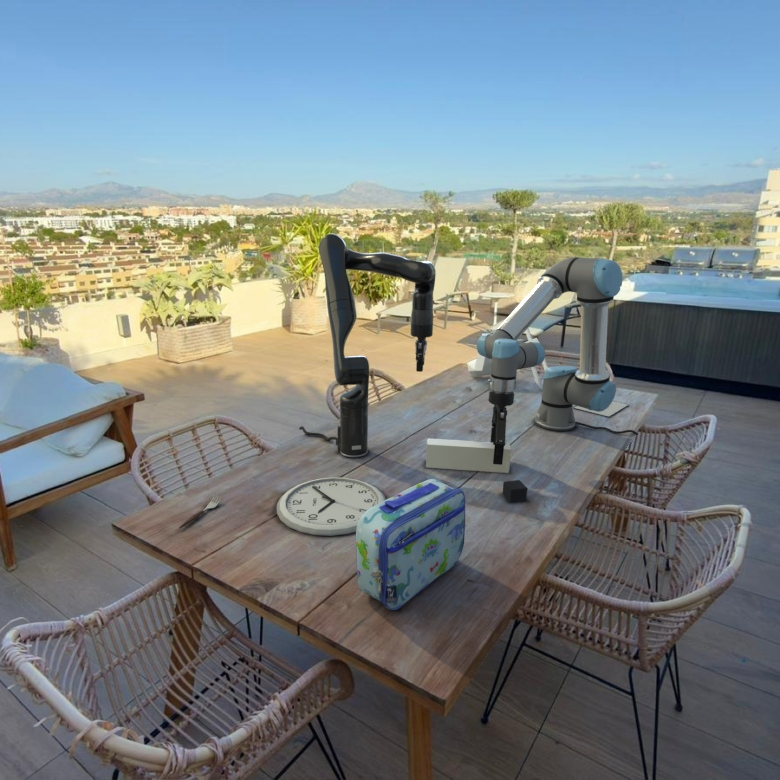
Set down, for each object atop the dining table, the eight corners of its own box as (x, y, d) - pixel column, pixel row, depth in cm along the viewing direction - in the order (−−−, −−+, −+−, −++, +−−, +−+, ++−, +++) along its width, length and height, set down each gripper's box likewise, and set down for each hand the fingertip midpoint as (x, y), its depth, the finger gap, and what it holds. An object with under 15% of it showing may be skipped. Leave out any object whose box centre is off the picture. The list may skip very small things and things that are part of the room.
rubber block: (518, 492, 152) (519, 479, 150) (526, 500, 147) (527, 488, 146) (502, 494, 151) (503, 481, 149) (509, 502, 146) (511, 489, 145)
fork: (174, 529, 130) (174, 521, 130) (216, 499, 144) (215, 492, 144) (183, 531, 129) (182, 524, 129) (223, 501, 144) (223, 494, 143)
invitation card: (608, 416, 214) (573, 407, 224) (608, 416, 214) (573, 408, 224) (628, 404, 229) (594, 396, 238) (628, 405, 229) (594, 397, 238)
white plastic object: (487, 418, 267) (468, 395, 242) (469, 346, 289) (449, 318, 264) (558, 394, 255) (545, 368, 230) (533, 321, 277) (518, 289, 252)
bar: (507, 466, 168) (509, 443, 166) (508, 473, 163) (511, 449, 161) (426, 460, 171) (427, 438, 169) (425, 467, 166) (426, 444, 164)
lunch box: (385, 624, 100) (387, 528, 94) (349, 596, 108) (348, 506, 101) (468, 566, 118) (474, 482, 112) (432, 545, 125) (436, 466, 119)
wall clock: (392, 527, 129) (268, 531, 127) (391, 533, 130) (269, 537, 127) (383, 473, 158) (282, 475, 155) (383, 478, 158) (282, 480, 156)
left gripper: (412, 318, 184) (411, 362, 189) (409, 325, 171) (407, 373, 176) (433, 318, 183) (431, 363, 188) (432, 326, 170) (430, 374, 175)
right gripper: (487, 378, 171) (481, 439, 177) (492, 402, 147) (486, 471, 153) (510, 380, 170) (504, 440, 176) (519, 404, 146) (512, 473, 152)
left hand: (420, 368), depth 182 cm, fingers open, 8 cm apart
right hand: (495, 455), depth 165 cm, fingers open, 13 cm apart
